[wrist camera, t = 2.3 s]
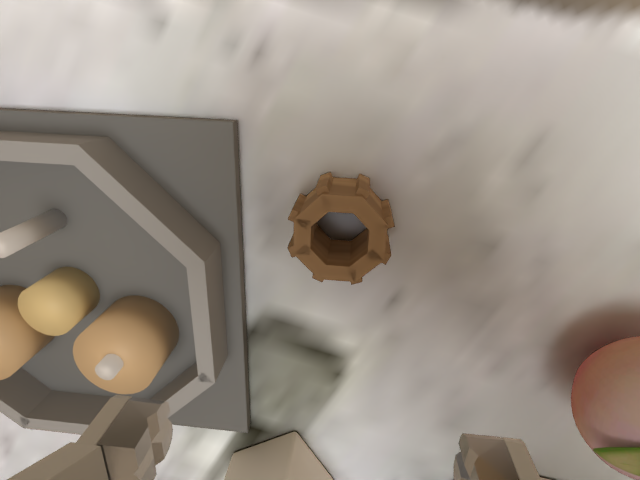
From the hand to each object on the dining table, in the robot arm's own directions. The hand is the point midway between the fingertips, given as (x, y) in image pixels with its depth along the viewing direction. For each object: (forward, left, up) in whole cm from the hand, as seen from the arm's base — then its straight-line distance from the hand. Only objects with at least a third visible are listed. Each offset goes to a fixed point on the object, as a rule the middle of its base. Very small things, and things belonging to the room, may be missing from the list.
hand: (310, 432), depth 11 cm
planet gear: (0, 0, -17) cm, 17 cm away
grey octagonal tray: (+20, +7, -17) cm, 27 cm away
